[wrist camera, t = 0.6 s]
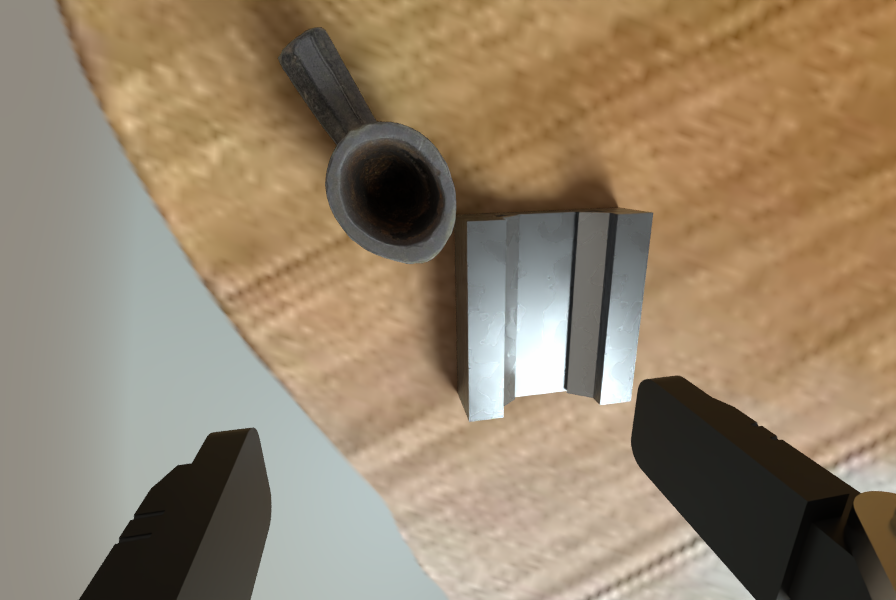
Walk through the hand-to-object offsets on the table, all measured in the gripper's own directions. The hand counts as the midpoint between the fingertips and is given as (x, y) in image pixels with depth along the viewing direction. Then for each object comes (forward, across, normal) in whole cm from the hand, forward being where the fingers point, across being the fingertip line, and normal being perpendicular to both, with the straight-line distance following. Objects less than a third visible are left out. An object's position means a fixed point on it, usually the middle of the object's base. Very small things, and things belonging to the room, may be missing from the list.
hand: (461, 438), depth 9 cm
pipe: (+22, +2, -6) cm, 23 cm away
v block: (+22, -10, +5) cm, 25 cm away
